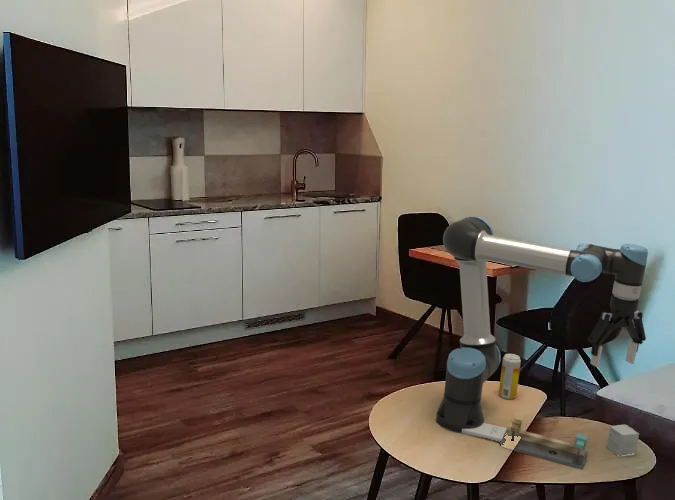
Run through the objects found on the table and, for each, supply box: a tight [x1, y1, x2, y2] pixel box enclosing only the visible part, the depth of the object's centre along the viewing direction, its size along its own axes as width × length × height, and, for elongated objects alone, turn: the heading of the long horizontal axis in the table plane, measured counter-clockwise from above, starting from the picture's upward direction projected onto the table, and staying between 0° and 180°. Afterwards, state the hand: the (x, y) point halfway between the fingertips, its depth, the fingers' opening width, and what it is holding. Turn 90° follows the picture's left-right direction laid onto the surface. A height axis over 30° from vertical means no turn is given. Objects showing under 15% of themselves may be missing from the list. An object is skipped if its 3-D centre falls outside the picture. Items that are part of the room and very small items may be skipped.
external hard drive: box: [461, 422, 508, 442], centre depth 215 cm, size 2×8×12 cm
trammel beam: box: [506, 418, 587, 456], centre depth 207 cm, size 23×6×5 cm, turn 64°
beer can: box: [498, 353, 522, 400], centre depth 242 cm, size 6×6×15 cm
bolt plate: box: [499, 431, 588, 470], centre depth 207 cm, size 24×10×1 cm, turn 64°
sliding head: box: [574, 432, 589, 459], centre depth 203 cm, size 3×6×5 cm, turn 154°
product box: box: [606, 423, 640, 456], centre depth 209 cm, size 6×6×7 cm
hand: (612, 363), depth 208 cm, fingers open, 13 cm apart
